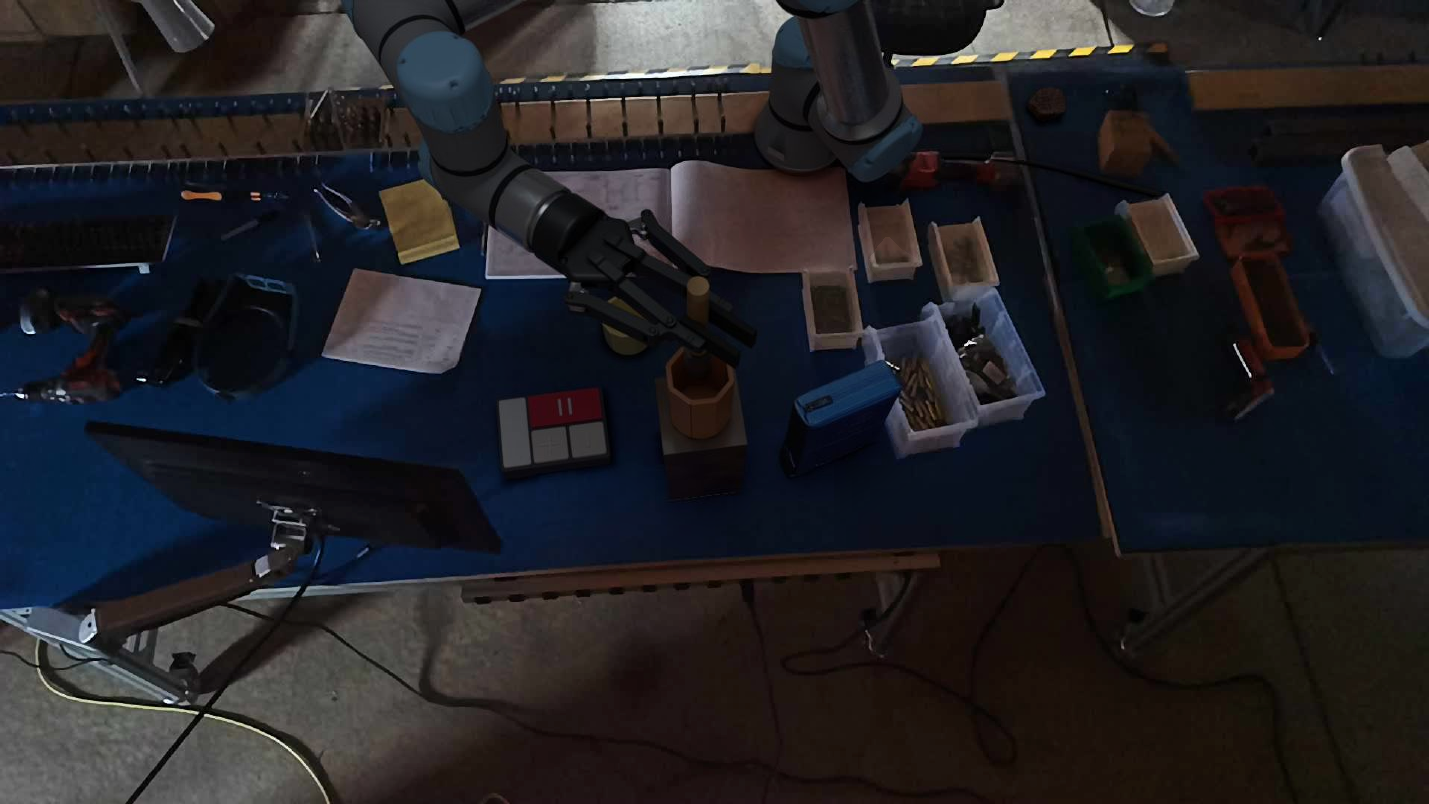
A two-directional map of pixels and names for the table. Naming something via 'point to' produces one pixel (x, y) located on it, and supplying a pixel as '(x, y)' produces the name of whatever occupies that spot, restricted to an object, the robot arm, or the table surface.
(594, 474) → the table surface
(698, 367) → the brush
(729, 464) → the stand
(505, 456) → the button panel
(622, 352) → the rinse cup
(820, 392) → the book
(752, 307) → the table surface
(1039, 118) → the stone
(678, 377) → the octagonal pencil cup
